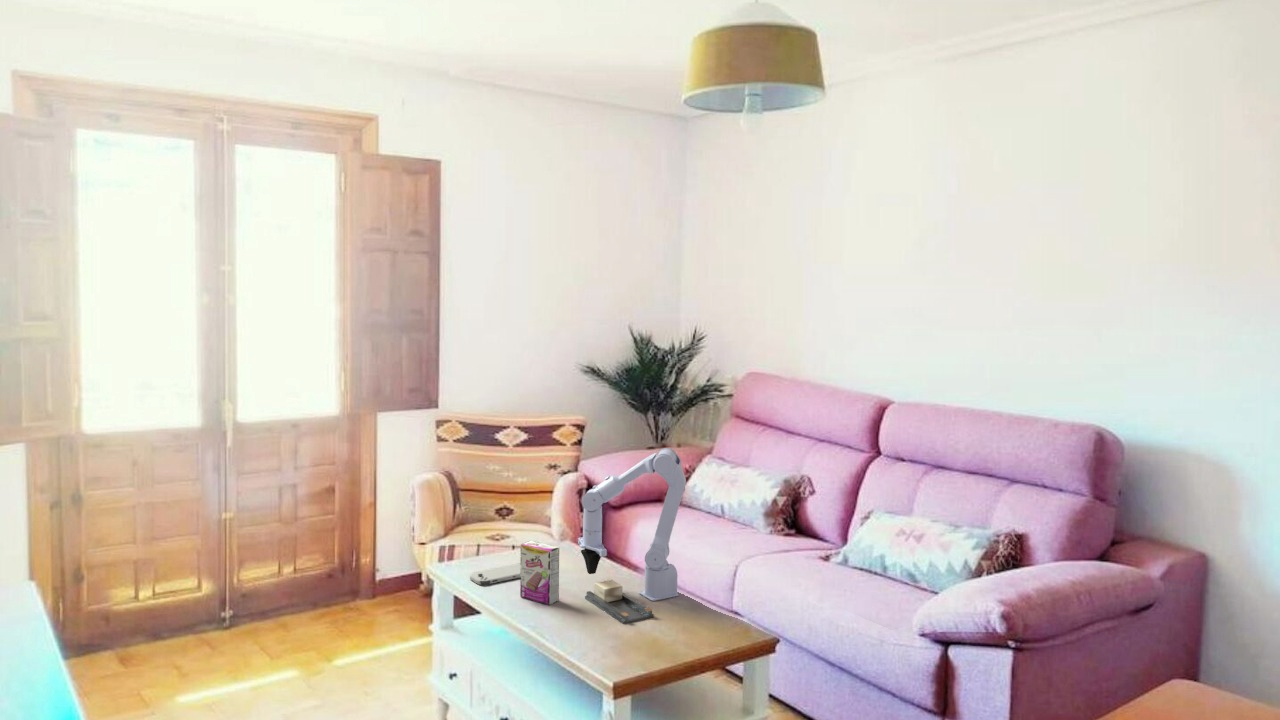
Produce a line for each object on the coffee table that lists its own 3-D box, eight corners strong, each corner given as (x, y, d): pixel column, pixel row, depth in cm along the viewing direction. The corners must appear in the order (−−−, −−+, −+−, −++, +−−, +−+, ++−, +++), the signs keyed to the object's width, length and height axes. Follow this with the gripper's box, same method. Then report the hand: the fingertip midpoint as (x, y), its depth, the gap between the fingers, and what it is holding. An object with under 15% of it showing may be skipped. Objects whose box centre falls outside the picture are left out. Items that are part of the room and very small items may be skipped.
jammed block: (611, 592, 269) (612, 579, 268) (622, 599, 264) (622, 585, 263) (594, 596, 266) (594, 583, 265) (604, 602, 260) (604, 589, 260)
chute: (614, 592, 272) (614, 585, 271) (653, 617, 253) (653, 609, 253) (585, 598, 266) (585, 591, 266) (623, 623, 248) (623, 615, 247)
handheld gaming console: (531, 558, 296) (546, 566, 287) (531, 566, 296) (546, 574, 288) (466, 570, 282) (480, 579, 274) (466, 579, 283) (480, 588, 274)
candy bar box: (519, 598, 266) (519, 543, 264) (530, 593, 270) (530, 539, 268) (549, 606, 260) (549, 550, 258) (559, 600, 264) (560, 546, 263)
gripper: (569, 524, 275) (568, 568, 277) (592, 537, 263) (591, 582, 264) (589, 522, 279) (589, 564, 280) (613, 534, 267) (612, 578, 268)
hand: (591, 573), depth 273 cm, fingers closed
